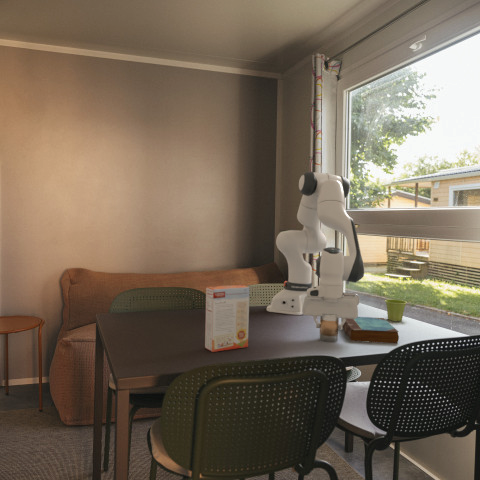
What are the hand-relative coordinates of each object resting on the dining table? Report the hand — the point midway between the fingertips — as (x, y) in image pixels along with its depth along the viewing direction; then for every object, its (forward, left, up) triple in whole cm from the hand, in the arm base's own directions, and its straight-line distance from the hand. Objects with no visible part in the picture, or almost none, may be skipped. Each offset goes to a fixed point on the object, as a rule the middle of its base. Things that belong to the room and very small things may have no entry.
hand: (328, 328), depth 167 cm
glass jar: (0, 0, -4) cm, 4 cm away
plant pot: (+30, +45, -4) cm, 54 cm away
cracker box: (-34, -22, -4) cm, 41 cm away
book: (+15, +13, -5) cm, 21 cm away
